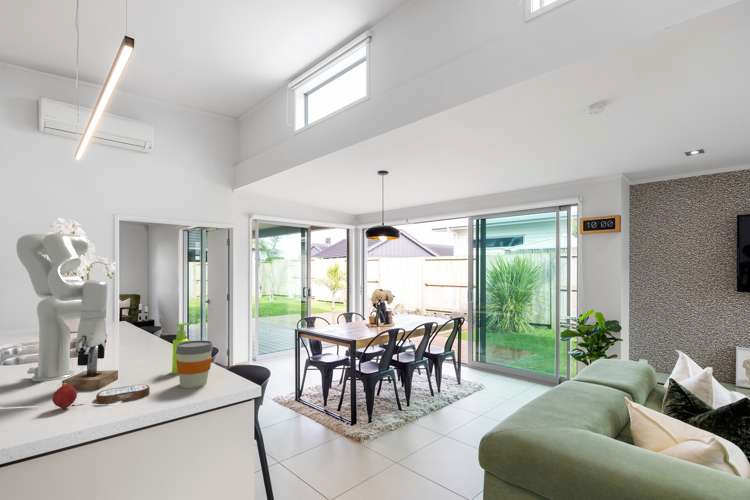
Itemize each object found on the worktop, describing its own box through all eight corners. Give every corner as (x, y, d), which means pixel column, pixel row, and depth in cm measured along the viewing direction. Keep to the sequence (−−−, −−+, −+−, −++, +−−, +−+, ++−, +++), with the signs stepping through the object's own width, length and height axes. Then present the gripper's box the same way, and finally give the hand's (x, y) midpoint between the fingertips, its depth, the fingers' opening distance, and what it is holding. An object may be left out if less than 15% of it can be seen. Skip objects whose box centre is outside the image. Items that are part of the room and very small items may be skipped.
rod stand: (61, 392, 131) (62, 380, 132) (83, 381, 143) (84, 371, 144) (99, 391, 133) (99, 379, 133) (117, 380, 145) (118, 370, 145)
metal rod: (84, 386, 136) (86, 346, 137) (89, 383, 139) (91, 345, 140) (92, 385, 137) (95, 346, 137) (98, 383, 140) (100, 345, 140)
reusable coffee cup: (219, 381, 145) (220, 342, 145) (191, 391, 133) (192, 348, 134) (196, 377, 150) (197, 339, 151) (167, 386, 139) (168, 345, 139)
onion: (61, 405, 119) (62, 379, 120) (80, 405, 120) (81, 379, 120) (47, 412, 113) (48, 385, 114) (67, 412, 114) (68, 385, 114)
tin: (95, 398, 125) (95, 408, 119) (95, 389, 125) (96, 398, 119) (147, 389, 134) (151, 398, 128) (148, 381, 134) (151, 389, 128)
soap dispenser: (193, 370, 160) (194, 322, 161) (179, 374, 154) (181, 324, 155) (182, 368, 162) (183, 321, 163) (168, 372, 156) (170, 324, 157)
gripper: (96, 311, 147) (94, 356, 147) (66, 318, 130) (63, 368, 130) (117, 311, 148) (115, 355, 148) (90, 318, 131) (87, 368, 131)
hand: (91, 361), depth 139 cm, fingers open, 9 cm apart
